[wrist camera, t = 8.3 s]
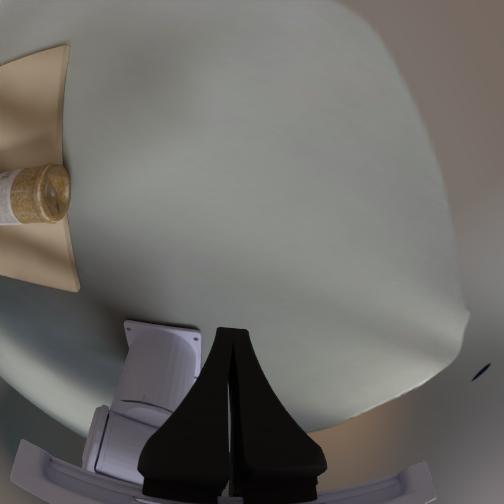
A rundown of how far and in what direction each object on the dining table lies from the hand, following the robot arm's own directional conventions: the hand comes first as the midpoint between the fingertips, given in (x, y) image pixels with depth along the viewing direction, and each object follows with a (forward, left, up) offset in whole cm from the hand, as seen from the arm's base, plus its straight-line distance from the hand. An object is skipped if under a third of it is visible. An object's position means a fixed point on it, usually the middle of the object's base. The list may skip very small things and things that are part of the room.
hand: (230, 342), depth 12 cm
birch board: (+4, +24, -10) cm, 26 cm away
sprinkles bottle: (+4, +13, -7) cm, 15 cm away
